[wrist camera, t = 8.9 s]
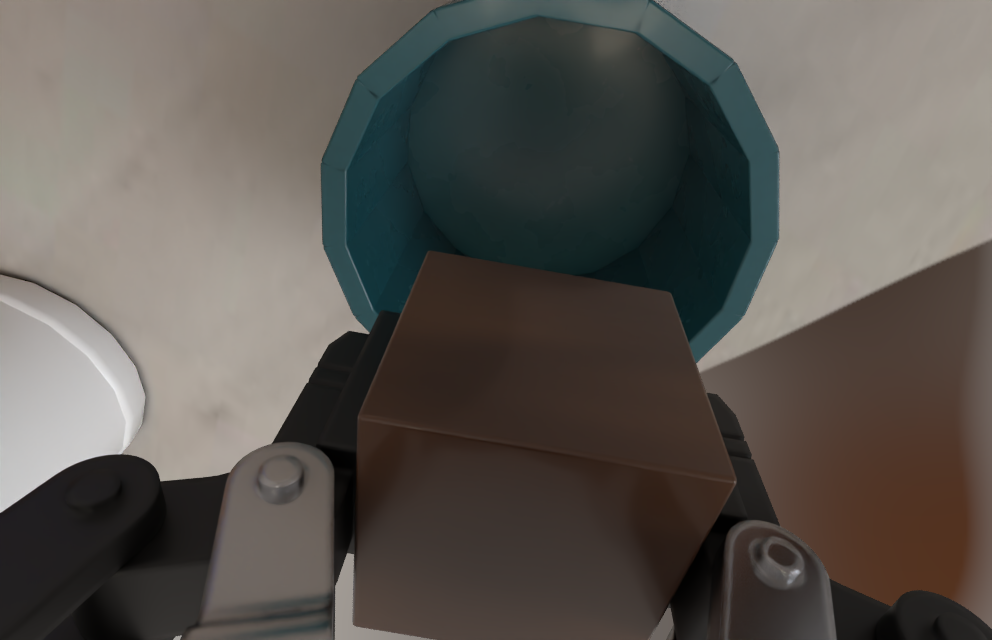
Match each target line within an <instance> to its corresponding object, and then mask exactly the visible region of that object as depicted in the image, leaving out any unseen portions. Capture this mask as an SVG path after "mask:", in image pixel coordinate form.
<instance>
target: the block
mask: <svg viewBox="0 0 992 640" xmlns="http://www.w3.org/2000/svg"><path fill="white" fill-rule="evenodd" d="M736 482H737V477H736V475H735V472H734V469H733V466H732V463H731V461H730V458H729V455H728V452H727V449H726V446H725V444H724V441H723V438H722V435H721V432H720V430H719V427H718V424H717V421H716V418H715V416H714V413H713V410H712V407H711V404H710V401H709V399H708V396H707V393H706V390H705V388H704V385H703V382H702V379H701V376H700V373H699V370H698V368H697V365H696V362H695V359H694V356H693V354H692V351H691V348H690V345H689V342H688V340H687V337H686V334H685V331H684V328H683V325H682V323H681V320H680V317H679V314H678V311H677V309H676V306H675V303H674V300H673V297H672V295H671V293H670V292H667V291H661V290H656V289H650V288H644V287H638V286H633V285H627V284H621V283H615V282H609V281H604V280H598V279H592V278H586V277H581V276H575V275H569V274H563V273H557V272H552V271H546V270H540V269H534V268H529V267H523V266H517V265H511V264H505V263H500V262H494V261H488V260H482V259H477V258H471V257H465V256H459V255H453V254H448V253H442V252H436V251H428V252H427V254H426V256H425V259H424V261H423V263H422V266H421V268H420V270H419V273H418V275H417V277H416V280H415V282H414V285H413V287H412V289H411V292H410V294H409V296H408V299H407V301H406V303H405V306H404V308H403V310H402V313H401V315H400V318H399V320H398V322H397V325H396V327H395V329H394V332H393V334H392V336H391V339H390V341H389V343H388V346H387V348H386V351H385V353H384V355H383V358H382V360H381V362H380V365H379V367H378V369H377V372H376V374H375V377H374V379H373V381H372V384H371V386H370V388H369V391H368V393H367V395H366V398H365V400H364V402H363V405H362V407H361V410H360V412H359V414H358V417H357V457H356V498H355V539H354V581H353V625H354V626H356V627H362V628H369V629H374V630H380V631H386V632H392V633H398V634H404V635H411V636H417V637H423V638H429V639H435V640H650V638H651V636H652V635H653V633H654V631H655V629H656V627H657V625H658V624H659V622H660V620H661V618H662V616H663V615H664V613H665V611H666V609H667V608H668V606H669V604H670V602H671V600H672V599H673V597H674V595H675V593H676V591H677V590H678V588H679V586H680V584H681V582H682V581H683V579H684V577H685V575H686V573H687V572H688V570H689V568H690V566H691V564H692V563H693V561H694V559H695V557H696V555H697V554H698V552H699V550H700V548H701V546H702V545H703V543H704V541H705V539H706V537H707V536H708V534H709V532H710V530H711V528H712V527H713V525H714V523H715V521H716V519H717V518H718V516H719V514H720V512H721V510H722V509H723V507H724V505H725V503H726V502H727V500H728V498H729V496H730V494H731V493H732V491H733V489H734V487H735V485H736Z"/></svg>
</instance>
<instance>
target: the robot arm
mask: <svg viewBox="0 0 992 640" xmlns="http://www.w3.org/2000/svg"><path fill="white" fill-rule="evenodd" d="M400 315H401V313H397V312H391V311H386V310H381V311H380V313H379V315H378V317H377V319H376V321H375V323H374V325H373V327H372V329H371V331H370V333H369V334H364V333H358V332H352V331H348V332H347V333H345V334H344V335H342V336H341V337H340V338H338V339H337V340H335V341H334V342H332V343H331V344H329V345H328V347H327V349H326V351H325V352H324V354H323V356H322V358H321V359H320V361H319V363H318V367H316V368H315V370H314V371H313V373H312V375H311V377H310V378H309V383H307V384H306V385H305V387H304V389H303V391H302V392H301V394H300V396H299V398H298V399H297V401H296V403H295V404H294V406H293V408H292V410H291V411H290V413H289V415H288V417H287V418H286V420H285V422H284V424H283V425H282V427H281V429H280V431H279V432H278V434H277V436H276V438H275V439H274V441H273V443H272V444H270V445H266V446H264V447H261V448H258V449H256V450H254V451H252V452H251V453H249V454H248V455H246V456H245V457H243V458H242V459H241V460H240V461H239V462H238V463H237V464H236V465H235V466H234V467H233V469H232V470H231V472H230V473H226V474H222V475H218V476H211V477H203V478H193V479H182V480H172V481H161V482H160V478H159V474H158V472H157V470H156V469H155V467H154V466H153V465H152V464H151V463H149V462H148V461H146V460H144V459H142V458H139V457H137V456H132V455H123V454H114V455H104V456H98V457H94V458H90V459H87V460H84V461H81V462H79V463H76V464H74V465H72V466H70V467H68V468H66V469H64V470H62V471H61V472H59V473H57V474H56V475H54V476H53V477H51V478H50V479H49V480H47V481H46V482H44V483H43V484H41V485H40V486H38V487H37V488H36V489H34V490H33V491H31V492H30V493H28V494H27V495H26V496H24V497H23V498H21V499H20V500H18V501H17V502H15V503H14V504H13V505H11V506H10V507H8V508H7V509H5V510H4V511H3V512H1V513H0V640H173V639H174V638H175V636H180V635H182V637H181V639H180V640H335V585H336V583H337V581H338V577H339V575H340V572H341V569H342V566H343V563H344V560H345V557H346V554H347V553H351V554H354V539H355V498H356V457H357V417H358V414H359V412H360V410H361V407H362V405H363V402H364V400H365V398H366V395H367V393H368V391H369V388H370V386H371V384H372V381H373V379H374V377H375V374H376V372H377V369H378V367H379V365H380V362H381V360H382V358H383V355H384V353H385V351H386V348H387V346H388V343H389V341H390V339H391V336H392V334H393V332H394V329H395V327H396V325H397V322H398V320H399V318H400ZM707 396H708V399H709V401H710V404H711V407H712V410H713V413H714V416H715V418H716V421H717V424H718V427H719V430H720V432H721V435H722V438H723V441H724V444H725V446H726V449H727V452H728V455H729V458H730V461H731V463H732V466H733V469H734V472H735V475H736V477H737V482H736V485H735V487H734V489H733V491H732V493H731V494H730V496H729V498H728V500H727V502H726V503H725V505H724V507H723V509H722V510H721V512H720V514H719V516H718V518H717V519H716V521H715V523H714V525H713V527H712V528H711V530H710V532H709V534H708V536H707V537H706V539H705V541H704V543H703V545H702V546H701V548H700V550H699V552H698V554H697V555H696V557H695V559H694V561H693V563H692V564H691V566H690V568H689V570H688V572H687V573H686V575H685V577H684V579H683V581H682V582H681V584H680V586H679V588H678V590H677V591H676V593H675V595H674V597H673V599H672V600H671V602H670V604H669V606H668V608H671V612H672V617H673V622H674V626H673V628H672V629H671V631H670V633H669V635H668V637H667V639H666V640H992V629H991V628H990V627H989V626H988V625H987V624H985V623H984V622H983V621H982V620H981V619H980V618H978V617H977V616H976V615H974V614H973V613H972V612H971V611H969V610H968V609H966V608H965V607H963V606H961V605H960V604H958V603H956V602H954V601H952V600H951V599H949V598H946V597H944V596H941V595H939V594H936V593H932V592H928V591H921V590H918V591H910V592H907V593H905V594H903V595H902V596H901V597H900V598H899V599H898V600H897V601H896V602H895V603H894V604H893V606H889V605H886V604H884V603H882V602H880V601H877V600H875V599H873V598H871V597H868V596H866V595H864V594H862V593H859V592H857V591H855V590H852V589H850V588H848V587H846V586H843V585H841V584H839V583H837V582H835V581H833V580H831V579H830V578H829V576H828V574H827V572H826V569H825V567H824V565H823V564H822V562H821V561H820V559H819V558H818V556H817V555H816V554H815V553H814V551H813V550H812V549H811V548H810V547H809V546H807V544H806V543H804V542H803V541H802V540H801V539H800V538H798V537H797V536H795V535H794V534H793V533H791V532H789V531H787V530H786V529H784V528H782V527H780V524H779V522H778V519H777V517H776V515H775V512H774V510H773V507H772V505H771V502H770V500H769V497H768V495H767V492H766V489H765V487H764V485H763V482H762V480H761V477H760V475H759V472H758V470H757V467H756V465H755V462H754V460H752V459H751V452H750V450H749V447H748V445H747V442H746V441H744V435H743V432H742V430H741V427H740V425H739V422H738V420H737V417H736V415H735V414H734V413H733V412H732V411H731V409H730V408H729V407H728V406H727V405H726V404H725V403H724V402H723V400H722V399H721V398H720V397H719V396H718V395H717V394H711V393H707Z"/></svg>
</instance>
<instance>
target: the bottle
mask: <svg viewBox="0 0 992 640" xmlns="http://www.w3.org/2000/svg"><path fill="white" fill-rule="evenodd" d="M145 399H146V396H145V393H144V390H143V387H142V384H141V381H140V378H139V375H138V372H137V369H136V366H135V365H134V364H133V362H132V361H131V360H130V358H129V357H128V356H127V354H126V353H125V352H124V350H123V349H122V348H121V346H120V345H119V344H118V342H117V341H116V339H115V338H114V337H113V335H112V334H110V333H109V332H108V331H107V330H106V329H104V328H103V327H102V326H101V325H100V324H98V323H97V322H96V321H95V320H94V319H92V318H91V317H90V316H89V315H88V314H86V313H85V312H84V311H83V310H82V309H80V308H79V307H78V306H77V305H75V304H73V303H71V302H69V301H67V300H65V299H63V298H62V297H60V296H58V295H56V294H54V293H52V292H50V291H48V290H46V289H44V288H42V287H40V286H38V285H36V284H34V283H31V282H28V281H24V280H20V279H16V278H12V277H8V276H4V275H0V513H1V512H3V511H4V510H5V509H7V508H8V507H10V506H11V505H13V504H14V503H15V502H17V501H18V500H20V499H21V498H23V497H24V496H26V495H27V494H28V493H30V492H31V491H33V490H34V489H36V488H37V487H38V486H40V485H41V484H43V483H44V482H46V481H47V480H49V479H50V478H51V477H53V476H54V475H56V474H57V473H59V472H61V471H62V470H64V469H66V468H68V467H70V466H72V465H74V464H76V463H79V462H81V461H84V460H87V459H90V458H94V457H98V456H104V455H114V454H121V453H122V452H123V451H124V450H125V449H126V448H127V447H128V445H129V444H130V443H131V442H132V440H133V438H134V437H135V435H136V433H137V432H138V430H139V429H140V427H141V425H142V421H143V414H144V406H145Z"/></svg>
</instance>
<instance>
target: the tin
mask: <svg viewBox="0 0 992 640" xmlns="http://www.w3.org/2000/svg"><path fill="white" fill-rule="evenodd" d="M321 198H322V242H323V245H324V250H325V252H326V254H327V257H328V259H329V261H330V263H331V266H332V268H333V270H334V272H335V275H336V277H337V279H338V282H339V284H340V286H341V288H342V291H343V293H344V295H345V297H346V300H347V302H348V304H349V306H350V309H351V311H352V313H353V315H354V316H355V317H356V319H357V320H358V321H359V322H360V323H361V324H362V325H363V326H364V327H365V328H366V329H367V330H368V331H369V332H370V331H371V329H372V327H373V325H374V323H375V321H376V319H377V317H378V315H379V313H380V311H381V310H386V311H391V312H397V313H402V310H403V308H404V306H405V303H406V301H407V299H408V296H409V294H410V292H411V289H412V287H413V285H414V282H415V280H416V277H417V275H418V273H419V270H420V268H421V266H422V263H423V261H424V259H425V256H426V254H427V252H428V251H436V252H442V253H448V254H453V255H459V256H465V257H471V258H477V259H482V260H488V261H494V262H500V263H505V264H511V265H517V266H523V267H529V268H534V269H540V270H546V271H552V272H557V273H563V274H569V275H575V276H581V277H586V278H592V279H598V280H604V281H609V282H615V283H621V284H627V285H633V286H638V287H644V288H650V289H656V290H661V291H667V292H670V293H671V295H672V297H673V300H674V303H675V306H676V309H677V311H678V314H679V317H680V320H681V323H682V325H683V328H684V331H685V334H686V337H687V340H688V342H689V345H690V348H691V351H692V354H693V356H694V359H695V362H696V363H697V362H698V361H699V360H700V359H701V358H702V357H703V356H704V355H705V354H706V353H707V352H708V351H709V350H710V349H711V348H712V347H713V346H715V345H716V344H717V343H718V342H719V341H720V340H721V339H722V338H723V337H724V336H725V335H726V334H727V333H728V332H729V331H730V330H731V329H732V328H733V327H734V326H735V325H736V324H737V323H738V322H739V321H740V320H741V319H742V317H743V316H744V315H745V313H746V311H747V309H748V307H749V304H750V302H751V300H752V298H753V296H754V293H755V291H756V289H757V287H758V285H759V282H760V280H761V278H762V276H763V274H764V271H765V269H766V267H767V265H768V262H769V260H770V258H771V256H772V254H773V251H774V249H775V247H776V245H777V240H779V150H778V146H777V144H776V142H775V140H774V138H773V136H772V134H771V132H770V130H769V128H768V125H767V123H766V121H765V119H764V117H763V115H762V113H761V111H760V109H759V107H758V105H757V103H756V101H755V99H754V97H753V95H752V93H751V91H750V89H749V87H748V85H747V83H746V81H745V79H744V77H743V75H742V73H741V71H740V69H739V67H738V65H737V63H736V62H734V60H733V59H732V58H731V57H729V56H728V55H727V54H725V53H724V52H723V51H721V50H720V49H719V48H717V47H716V46H714V45H713V44H712V43H710V42H709V41H708V40H706V39H705V38H704V37H702V36H701V35H700V34H698V33H697V32H696V31H694V30H693V29H691V28H690V27H689V26H687V25H686V24H685V23H683V22H682V21H681V20H679V19H678V18H677V17H675V16H674V15H673V14H671V13H670V12H668V11H667V10H666V9H664V8H663V7H662V6H660V5H659V4H658V3H656V2H655V1H654V0H454V1H452V2H449V3H447V4H445V5H442V6H440V7H438V8H436V9H434V10H432V11H430V12H429V13H428V14H427V15H426V16H425V17H424V18H422V19H421V20H420V21H419V22H418V23H417V24H416V25H415V26H413V27H412V28H411V29H410V30H409V31H408V32H407V33H406V34H404V35H403V36H402V37H401V38H400V39H399V40H398V41H397V42H395V43H394V44H393V45H392V46H391V47H390V48H389V49H388V50H386V51H385V52H384V53H383V54H382V55H381V56H380V57H379V58H378V59H376V60H375V61H374V62H373V63H372V64H371V65H370V66H369V67H367V68H366V69H365V70H364V71H363V72H362V73H361V74H360V75H358V77H357V79H356V80H355V82H354V85H353V87H352V89H351V92H350V94H349V97H348V99H347V101H346V104H345V106H344V108H343V111H342V113H341V115H340V118H339V120H338V122H337V125H336V127H335V129H334V132H333V134H332V136H331V139H330V141H329V144H328V146H327V148H326V151H325V153H324V155H323V158H322V163H321Z"/></svg>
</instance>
